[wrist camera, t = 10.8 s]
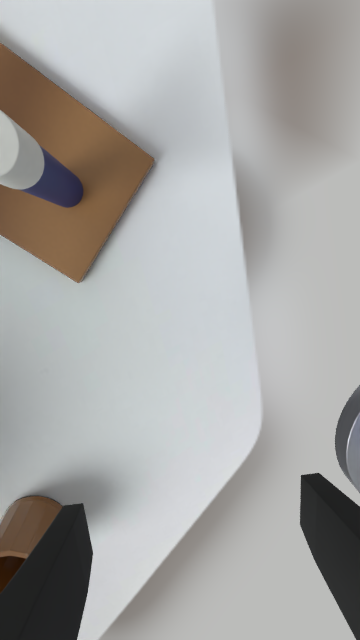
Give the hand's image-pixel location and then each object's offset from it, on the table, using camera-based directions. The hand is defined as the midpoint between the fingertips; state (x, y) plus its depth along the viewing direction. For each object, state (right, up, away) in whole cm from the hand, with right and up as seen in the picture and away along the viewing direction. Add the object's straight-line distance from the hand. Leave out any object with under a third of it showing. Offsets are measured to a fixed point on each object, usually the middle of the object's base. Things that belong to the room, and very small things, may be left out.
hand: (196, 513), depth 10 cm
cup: (-11, -8, +12) cm, 18 cm away
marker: (-7, +13, +6) cm, 16 cm away
